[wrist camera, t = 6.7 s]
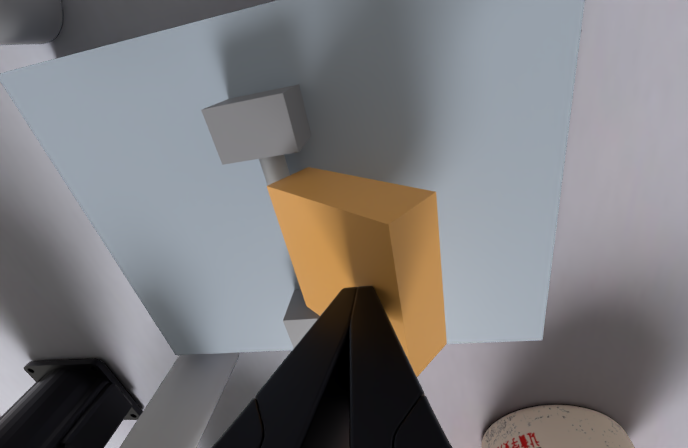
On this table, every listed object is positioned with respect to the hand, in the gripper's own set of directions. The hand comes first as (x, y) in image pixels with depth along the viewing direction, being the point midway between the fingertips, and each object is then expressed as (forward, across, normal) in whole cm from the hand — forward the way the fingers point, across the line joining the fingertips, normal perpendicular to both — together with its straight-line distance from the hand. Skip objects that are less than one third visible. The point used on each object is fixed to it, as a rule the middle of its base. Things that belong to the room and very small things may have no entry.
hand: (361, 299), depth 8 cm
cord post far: (+7, +12, +10) cm, 17 cm away
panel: (+7, +3, 0) cm, 7 cm away
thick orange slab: (+4, +3, 0) cm, 4 cm away
